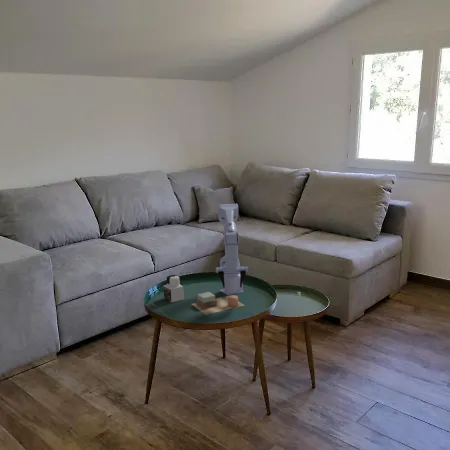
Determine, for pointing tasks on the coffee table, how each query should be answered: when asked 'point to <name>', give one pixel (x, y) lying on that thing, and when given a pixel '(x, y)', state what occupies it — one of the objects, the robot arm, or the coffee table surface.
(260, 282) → the coffee table surface
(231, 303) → the cylinder
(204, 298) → the tower top
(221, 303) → the board
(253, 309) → the coffee table surface
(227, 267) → the robot arm
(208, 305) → the tower base
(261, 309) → the coffee table surface
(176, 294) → the medicine bottle
